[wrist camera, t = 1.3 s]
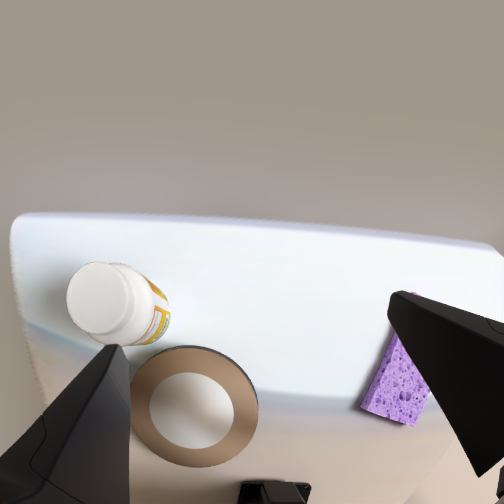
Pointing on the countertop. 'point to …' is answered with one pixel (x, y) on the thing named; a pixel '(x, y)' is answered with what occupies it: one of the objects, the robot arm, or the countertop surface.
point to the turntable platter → (193, 407)
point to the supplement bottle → (117, 305)
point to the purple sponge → (397, 387)
